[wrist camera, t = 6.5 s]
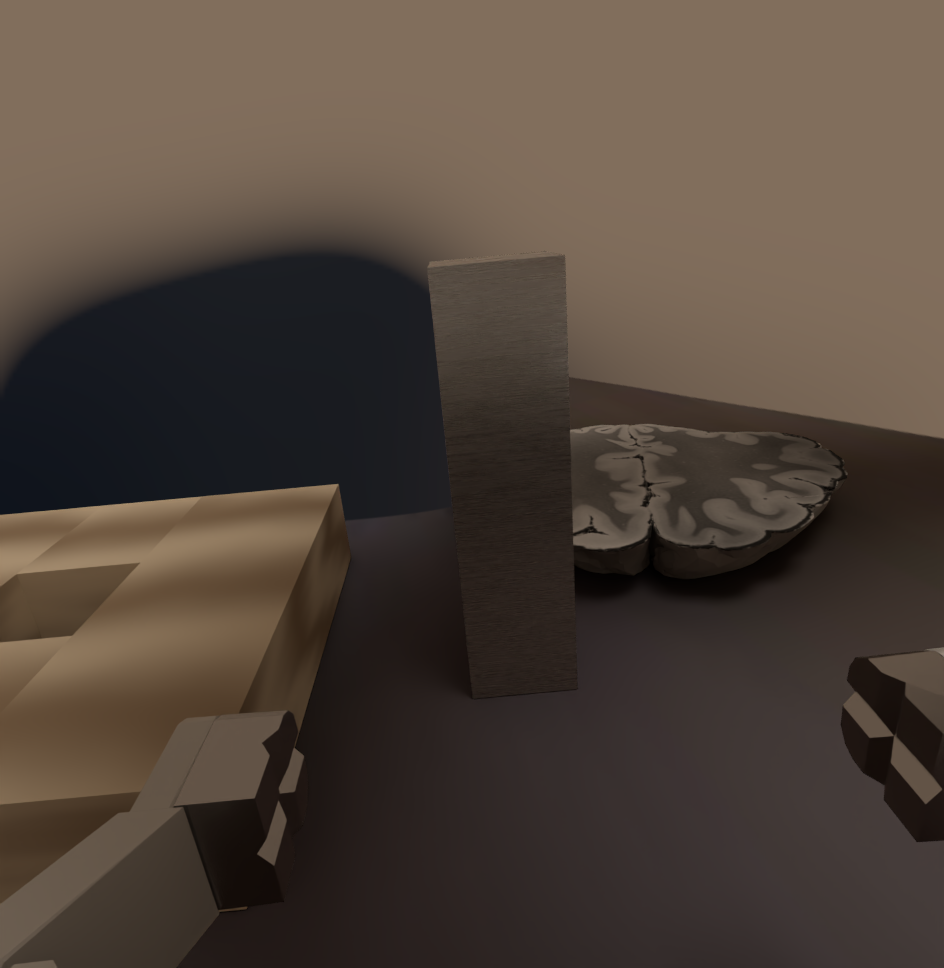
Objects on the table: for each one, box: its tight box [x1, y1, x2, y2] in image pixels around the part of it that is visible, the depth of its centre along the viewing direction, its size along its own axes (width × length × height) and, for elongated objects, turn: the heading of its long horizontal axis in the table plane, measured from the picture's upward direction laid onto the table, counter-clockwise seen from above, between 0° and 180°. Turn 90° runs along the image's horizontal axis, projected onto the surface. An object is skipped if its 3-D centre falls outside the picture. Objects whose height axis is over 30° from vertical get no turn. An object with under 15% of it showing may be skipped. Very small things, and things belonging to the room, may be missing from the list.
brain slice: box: [570, 424, 848, 579], centre depth 33 cm, size 20×17×3 cm
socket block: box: [0, 484, 351, 912], centre depth 23 cm, size 18×18×4 cm
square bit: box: [427, 251, 578, 699], centre depth 21 cm, size 4×4×14 cm
